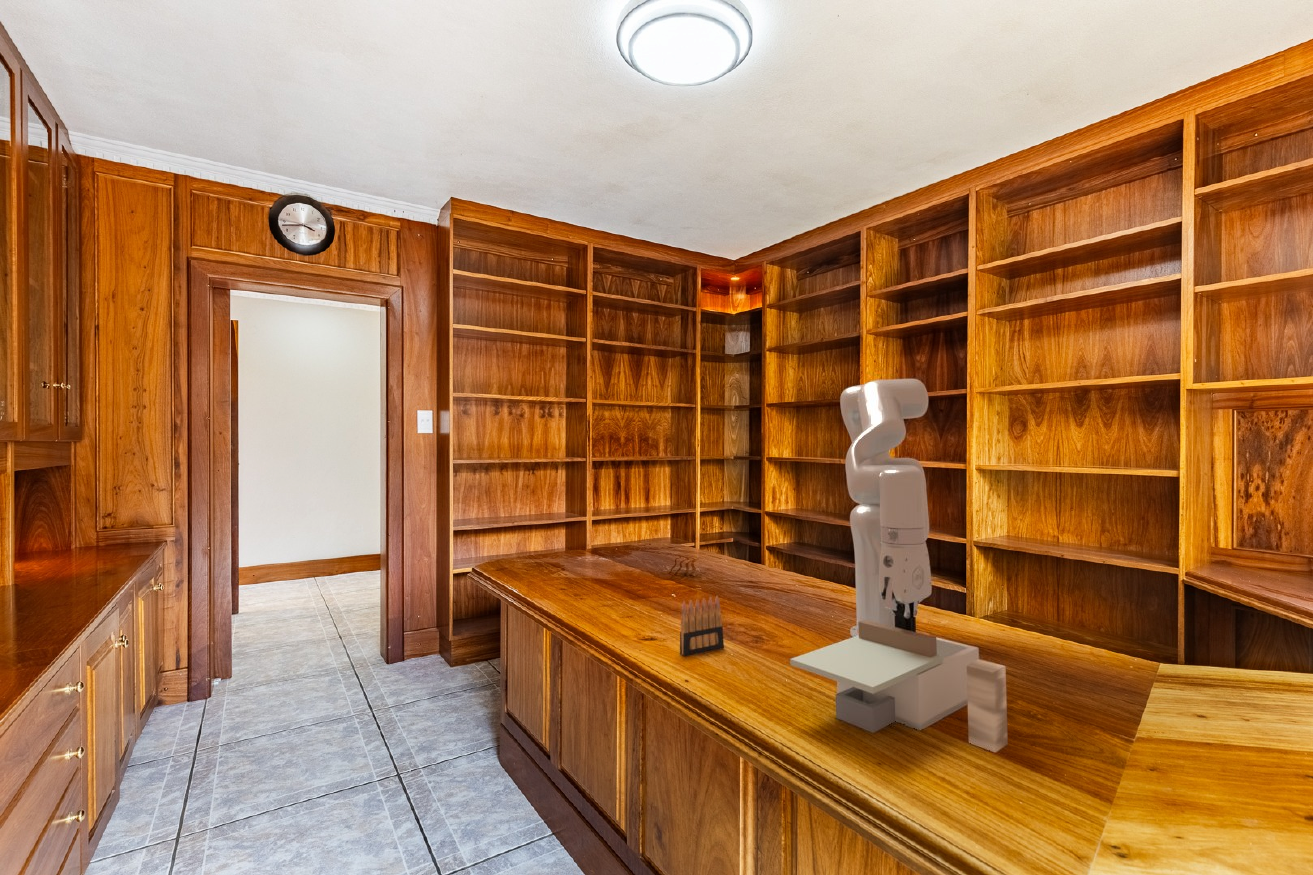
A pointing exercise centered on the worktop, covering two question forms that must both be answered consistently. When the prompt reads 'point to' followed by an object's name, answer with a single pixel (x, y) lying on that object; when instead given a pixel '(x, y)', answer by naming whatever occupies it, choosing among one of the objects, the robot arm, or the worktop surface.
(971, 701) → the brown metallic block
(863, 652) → the toolbox lid
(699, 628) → the ammunition clip
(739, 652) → the worktop surface
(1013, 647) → the worktop surface
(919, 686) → the toolbox
